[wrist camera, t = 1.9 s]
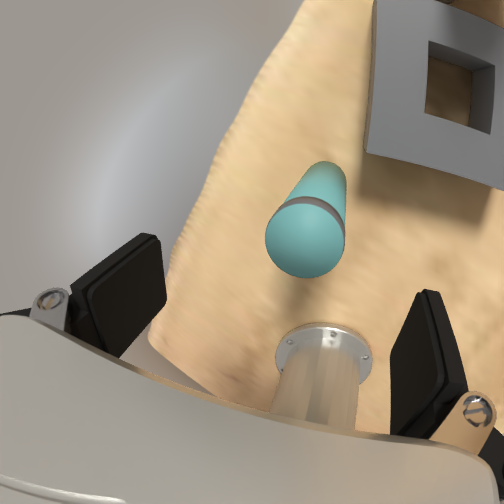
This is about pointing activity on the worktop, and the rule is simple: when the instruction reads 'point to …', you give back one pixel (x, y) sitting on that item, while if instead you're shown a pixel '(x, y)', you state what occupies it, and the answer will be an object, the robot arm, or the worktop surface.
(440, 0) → the flask
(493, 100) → the socket block
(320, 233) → the peg
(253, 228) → the worktop surface
